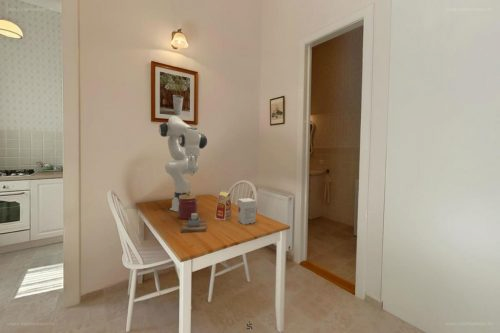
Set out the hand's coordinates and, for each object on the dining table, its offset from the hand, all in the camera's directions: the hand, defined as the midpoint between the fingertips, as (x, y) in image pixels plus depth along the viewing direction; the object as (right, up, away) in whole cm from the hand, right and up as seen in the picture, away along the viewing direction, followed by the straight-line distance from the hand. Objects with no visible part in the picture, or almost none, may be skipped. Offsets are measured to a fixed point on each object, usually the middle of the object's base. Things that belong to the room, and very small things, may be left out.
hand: (192, 174), depth 140 cm
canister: (-7, -30, +13) cm, 34 cm away
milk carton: (+19, -31, +12) cm, 38 cm away
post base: (+3, -32, -8) cm, 33 cm away
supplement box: (+35, -32, +5) cm, 47 cm away
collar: (+3, -30, -8) cm, 32 cm away
